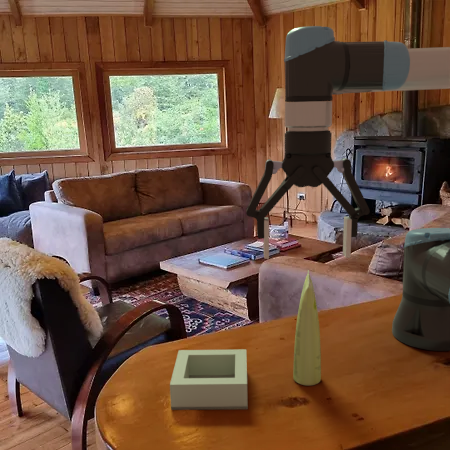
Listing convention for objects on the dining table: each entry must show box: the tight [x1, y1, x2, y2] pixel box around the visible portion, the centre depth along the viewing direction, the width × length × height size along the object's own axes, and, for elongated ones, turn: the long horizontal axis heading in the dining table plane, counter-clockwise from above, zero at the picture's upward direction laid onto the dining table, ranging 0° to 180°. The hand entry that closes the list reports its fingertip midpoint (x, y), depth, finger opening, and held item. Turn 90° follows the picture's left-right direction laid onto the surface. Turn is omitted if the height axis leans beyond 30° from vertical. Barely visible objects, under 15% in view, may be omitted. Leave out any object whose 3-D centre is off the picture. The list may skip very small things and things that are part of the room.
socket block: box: [169, 348, 248, 411], centre depth 91 cm, size 12×12×4 cm
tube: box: [292, 269, 322, 386], centre depth 92 cm, size 6×5×20 cm
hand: (306, 256), depth 89 cm, fingers open, 13 cm apart
